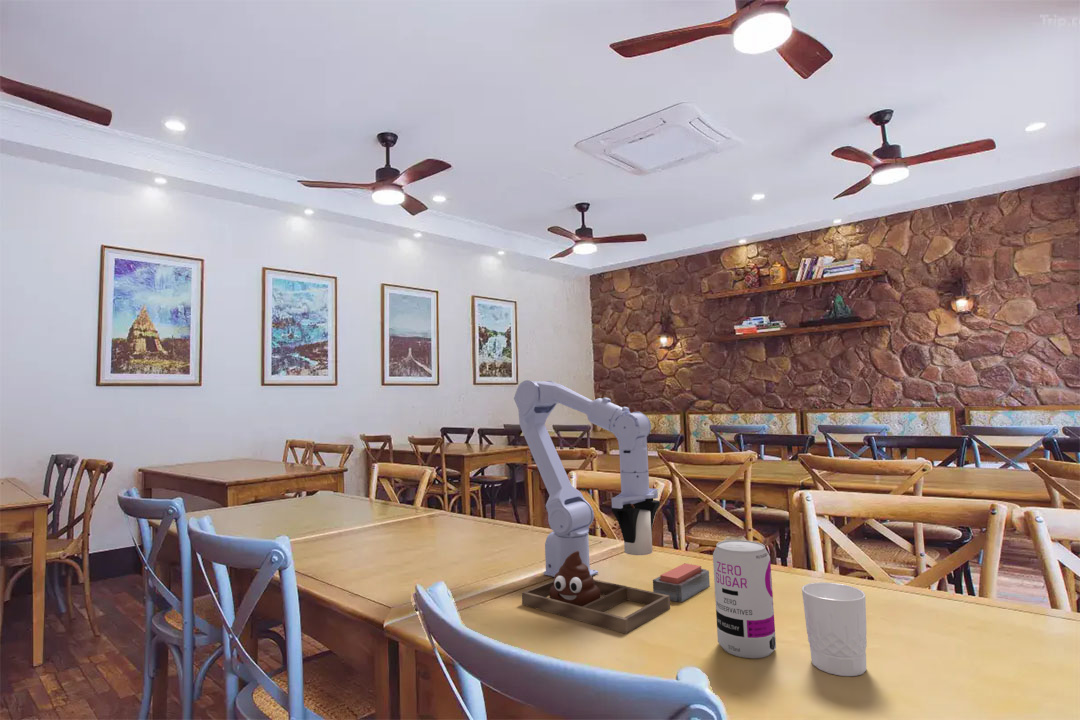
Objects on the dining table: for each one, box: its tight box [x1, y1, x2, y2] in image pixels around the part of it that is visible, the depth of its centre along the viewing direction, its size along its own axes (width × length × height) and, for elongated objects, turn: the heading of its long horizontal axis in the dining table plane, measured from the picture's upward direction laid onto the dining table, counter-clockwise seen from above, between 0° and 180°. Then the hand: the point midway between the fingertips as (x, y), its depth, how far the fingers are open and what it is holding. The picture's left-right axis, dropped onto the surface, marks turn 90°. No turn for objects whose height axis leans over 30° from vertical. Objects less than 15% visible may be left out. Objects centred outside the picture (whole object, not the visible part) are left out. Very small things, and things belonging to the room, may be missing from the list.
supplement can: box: [712, 540, 777, 659], centre depth 85 cm, size 8×8×15 cm
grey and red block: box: [652, 568, 711, 603], centre depth 112 cm, size 6×12×3 cm, turn 138°
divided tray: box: [521, 578, 671, 635], centre depth 105 cm, size 23×14×2 cm, turn 48°
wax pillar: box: [623, 509, 653, 556], centre depth 116 cm, size 6×6×8 cm
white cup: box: [801, 582, 867, 677], centre depth 79 cm, size 8×8×10 cm
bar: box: [659, 563, 702, 584], centre depth 112 cm, size 4×10×3 cm, turn 138°
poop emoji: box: [548, 551, 602, 606], centre depth 109 cm, size 10×8×9 cm
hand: (637, 539), depth 115 cm, fingers closed on wax pillar, 6 cm apart
